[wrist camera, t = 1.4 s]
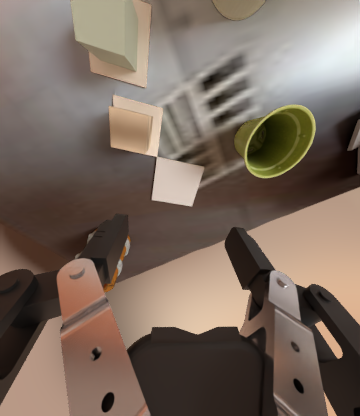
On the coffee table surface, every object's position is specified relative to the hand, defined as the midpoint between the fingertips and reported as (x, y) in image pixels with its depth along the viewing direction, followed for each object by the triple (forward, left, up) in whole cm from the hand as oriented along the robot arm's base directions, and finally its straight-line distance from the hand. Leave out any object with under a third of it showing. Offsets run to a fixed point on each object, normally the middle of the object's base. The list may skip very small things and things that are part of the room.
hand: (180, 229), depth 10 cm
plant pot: (-7, +13, -21) cm, 26 cm away
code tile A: (-4, -8, -21) cm, 22 cm away
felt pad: (+5, +1, -21) cm, 22 cm away
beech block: (-4, -8, -21) cm, 22 cm away
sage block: (-14, -11, -21) cm, 27 cm away
